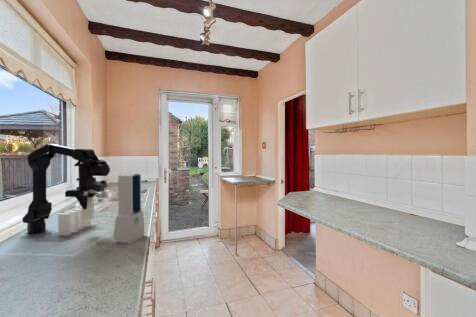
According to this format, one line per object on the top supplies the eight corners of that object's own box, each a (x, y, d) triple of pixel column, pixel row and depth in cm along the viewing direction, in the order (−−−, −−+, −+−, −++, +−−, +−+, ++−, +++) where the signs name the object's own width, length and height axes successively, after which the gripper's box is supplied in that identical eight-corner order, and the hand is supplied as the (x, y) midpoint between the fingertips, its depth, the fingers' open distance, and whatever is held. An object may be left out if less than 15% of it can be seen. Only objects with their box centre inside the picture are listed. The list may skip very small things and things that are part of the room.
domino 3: (73, 229, 119) (72, 209, 119) (75, 228, 121) (75, 208, 121) (82, 229, 119) (82, 209, 119) (84, 228, 120) (84, 209, 120)
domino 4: (81, 218, 110) (81, 197, 110) (83, 218, 111) (83, 197, 111) (91, 219, 110) (91, 197, 109) (93, 218, 111) (93, 197, 111)
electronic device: (127, 245, 100) (127, 174, 99) (112, 243, 101) (111, 174, 101) (145, 235, 112) (144, 172, 111) (131, 234, 113) (130, 172, 113)
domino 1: (58, 235, 110) (58, 214, 110) (61, 233, 112) (61, 213, 112) (68, 235, 110) (68, 214, 110) (71, 234, 112) (70, 213, 111)
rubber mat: (36, 242, 103) (36, 241, 103) (77, 225, 127) (77, 224, 127) (61, 243, 102) (61, 241, 102) (98, 226, 126) (98, 225, 126)
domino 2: (66, 232, 115) (65, 211, 115) (68, 230, 116) (68, 210, 116) (75, 232, 114) (75, 211, 114) (78, 231, 116) (77, 211, 116)
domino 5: (79, 226, 124) (79, 207, 123) (81, 225, 125) (81, 206, 125) (88, 226, 123) (88, 207, 123) (90, 225, 125) (90, 207, 125)
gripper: (88, 177, 100) (89, 214, 101) (114, 174, 119) (114, 204, 119) (63, 177, 101) (64, 213, 101) (93, 174, 120) (93, 204, 120)
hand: (86, 208), depth 110 cm, fingers closed on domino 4, 2 cm apart
